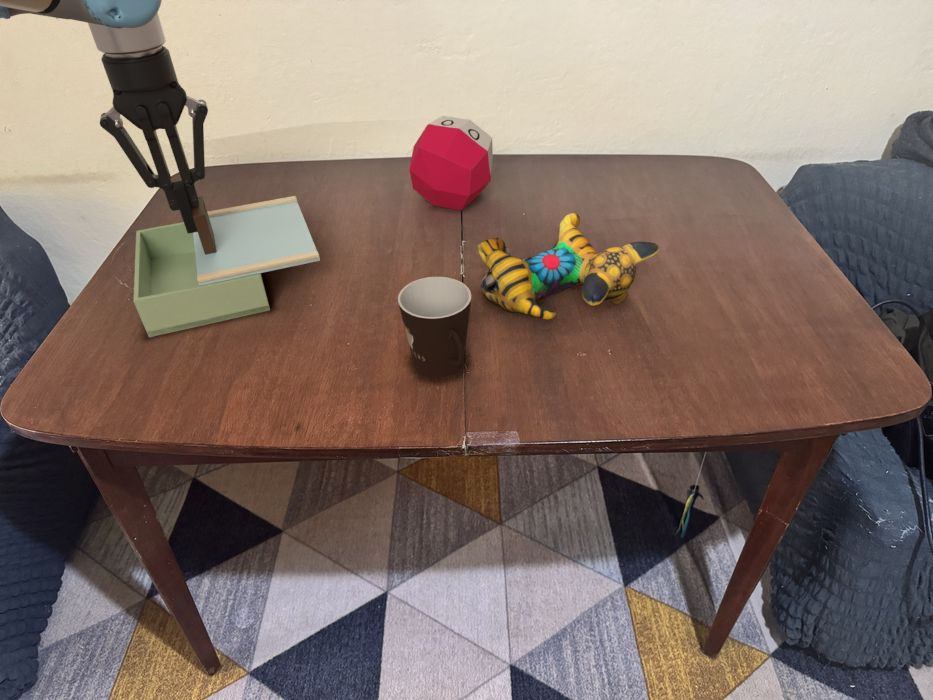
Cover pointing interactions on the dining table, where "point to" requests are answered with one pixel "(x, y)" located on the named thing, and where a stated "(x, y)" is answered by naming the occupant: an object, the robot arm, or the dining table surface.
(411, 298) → the coffee mug
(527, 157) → the dining table surface
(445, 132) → the decorative object
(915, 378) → the dining table surface
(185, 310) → the green open storage box
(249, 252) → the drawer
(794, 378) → the dining table surface
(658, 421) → the dining table surface
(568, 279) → the dog figurine
